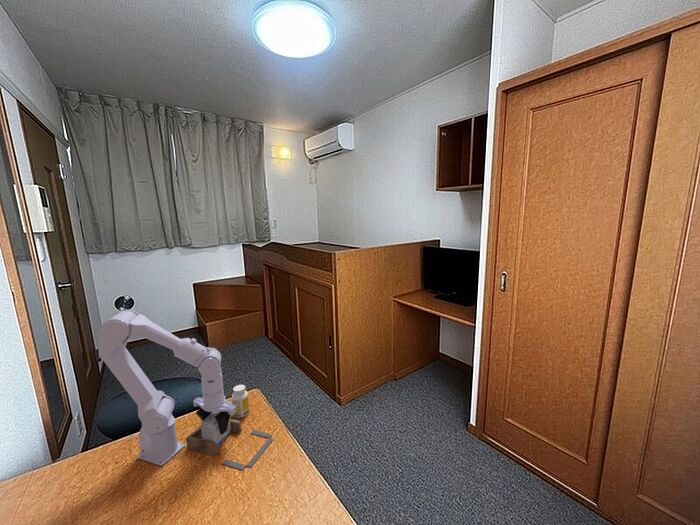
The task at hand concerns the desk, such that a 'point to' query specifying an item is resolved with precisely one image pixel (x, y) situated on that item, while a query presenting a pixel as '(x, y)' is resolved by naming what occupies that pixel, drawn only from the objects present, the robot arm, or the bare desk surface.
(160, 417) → the robot arm
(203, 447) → the walnut shelf
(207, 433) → the medicine box
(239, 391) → the supplement bottle
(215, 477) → the desk surface
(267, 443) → the frame
